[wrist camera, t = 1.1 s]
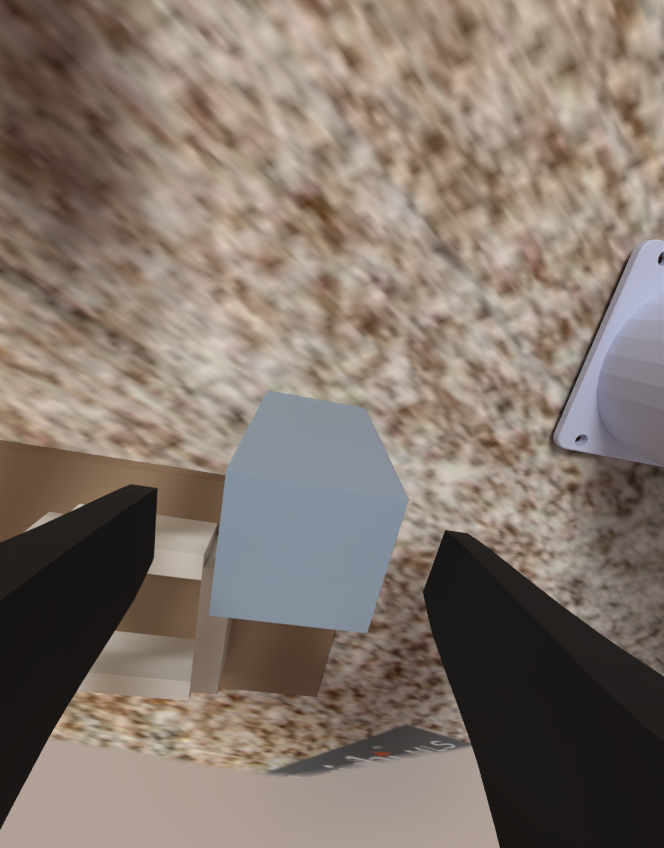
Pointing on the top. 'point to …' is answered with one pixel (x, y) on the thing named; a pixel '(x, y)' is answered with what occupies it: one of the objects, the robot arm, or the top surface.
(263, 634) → the well
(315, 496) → the pale blue square prism
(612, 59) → the top surface
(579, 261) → the top surface
